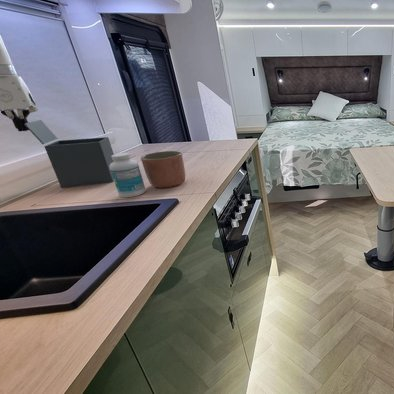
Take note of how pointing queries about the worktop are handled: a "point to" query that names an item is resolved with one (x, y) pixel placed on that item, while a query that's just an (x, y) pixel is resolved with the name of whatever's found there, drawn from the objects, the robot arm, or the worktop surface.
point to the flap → (41, 131)
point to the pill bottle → (126, 175)
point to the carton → (81, 161)
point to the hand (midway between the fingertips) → (24, 130)
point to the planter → (164, 168)
